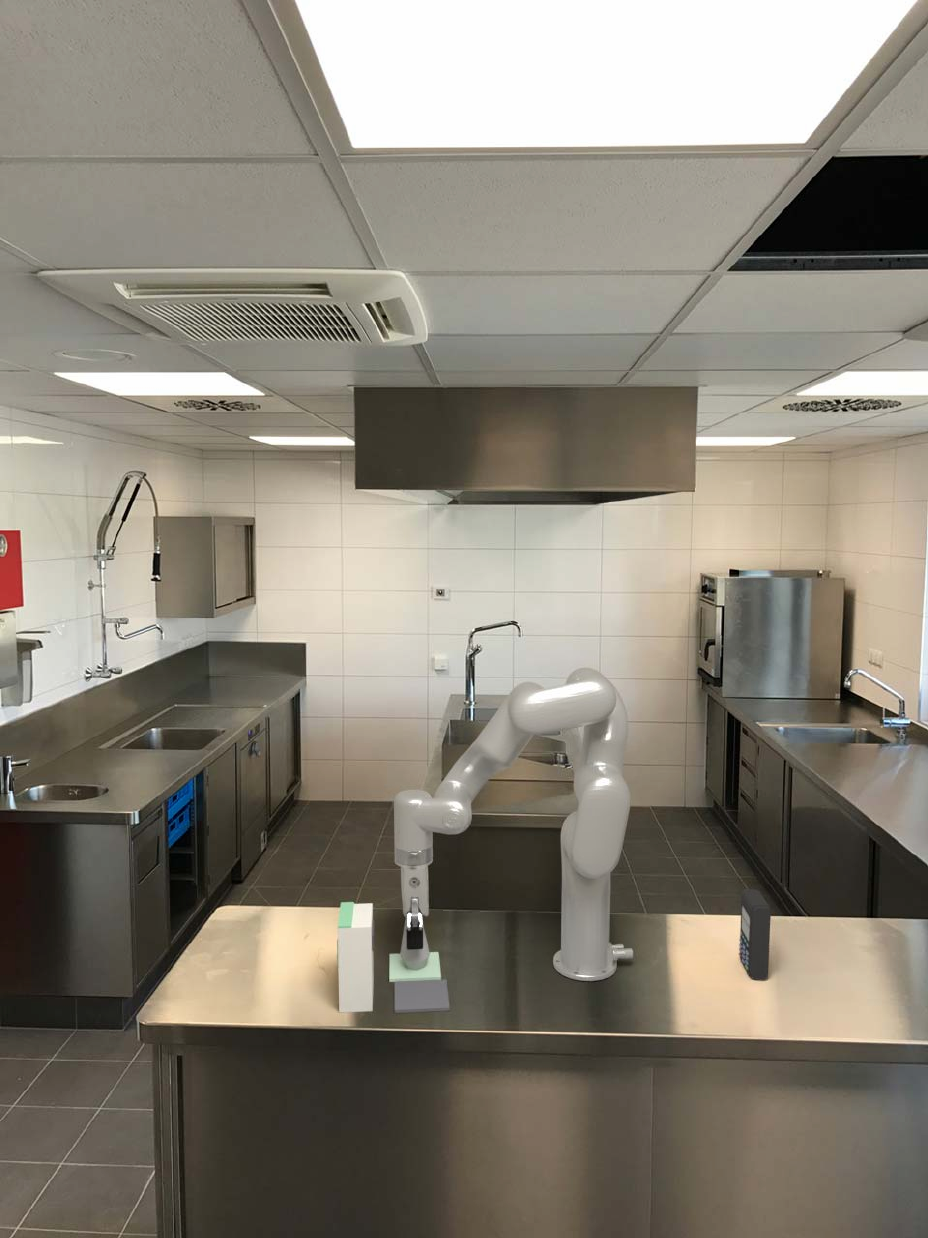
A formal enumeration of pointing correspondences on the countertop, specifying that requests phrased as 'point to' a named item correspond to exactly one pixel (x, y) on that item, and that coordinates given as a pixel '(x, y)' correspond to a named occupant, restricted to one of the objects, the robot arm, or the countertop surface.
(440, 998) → the grey pad
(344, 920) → the block
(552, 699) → the robot arm
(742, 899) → the card reader
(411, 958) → the salt shaker
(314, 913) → the countertop surface
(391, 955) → the green pad
